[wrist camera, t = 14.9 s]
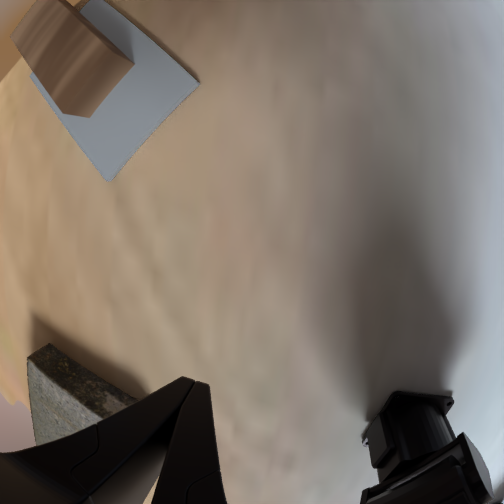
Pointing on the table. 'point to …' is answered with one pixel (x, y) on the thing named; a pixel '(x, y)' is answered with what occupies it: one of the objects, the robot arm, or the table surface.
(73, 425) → the stone block
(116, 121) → the mat
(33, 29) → the walnut slab
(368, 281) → the table surface
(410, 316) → the table surface
